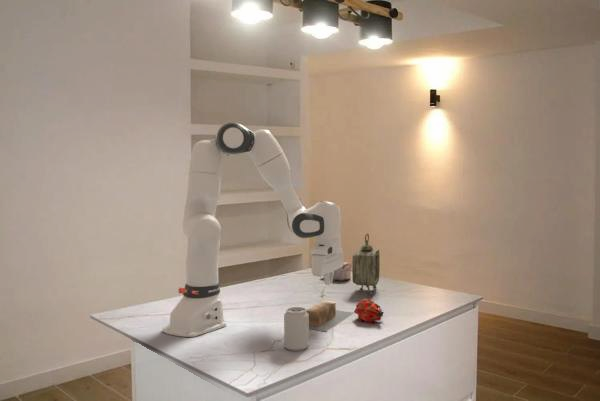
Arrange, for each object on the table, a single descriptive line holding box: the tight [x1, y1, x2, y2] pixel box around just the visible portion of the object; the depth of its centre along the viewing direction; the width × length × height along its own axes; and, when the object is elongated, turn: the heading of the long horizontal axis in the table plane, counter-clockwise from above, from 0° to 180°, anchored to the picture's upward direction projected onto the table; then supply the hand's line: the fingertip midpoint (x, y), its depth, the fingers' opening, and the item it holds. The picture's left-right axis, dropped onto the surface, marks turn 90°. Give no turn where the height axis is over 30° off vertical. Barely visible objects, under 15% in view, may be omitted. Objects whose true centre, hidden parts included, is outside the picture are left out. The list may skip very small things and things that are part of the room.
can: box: [283, 306, 310, 352], centre depth 172 cm, size 8×8×12 cm
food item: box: [332, 261, 352, 282], centre depth 264 cm, size 14×8×10 cm, turn 45°
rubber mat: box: [309, 309, 354, 333], centre depth 200 cm, size 24×14×1 cm, turn 152°
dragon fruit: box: [353, 298, 384, 324], centre depth 197 cm, size 8×8×12 cm
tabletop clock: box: [351, 233, 381, 296], centre depth 238 cm, size 14×9×25 cm, turn 162°
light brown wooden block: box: [306, 300, 337, 326], centre depth 198 cm, size 5×5×14 cm
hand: (328, 283), depth 204 cm, fingers closed
